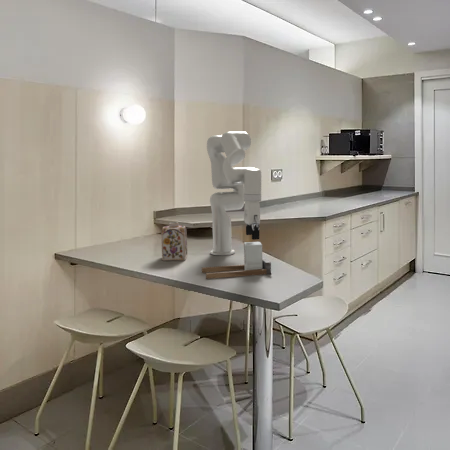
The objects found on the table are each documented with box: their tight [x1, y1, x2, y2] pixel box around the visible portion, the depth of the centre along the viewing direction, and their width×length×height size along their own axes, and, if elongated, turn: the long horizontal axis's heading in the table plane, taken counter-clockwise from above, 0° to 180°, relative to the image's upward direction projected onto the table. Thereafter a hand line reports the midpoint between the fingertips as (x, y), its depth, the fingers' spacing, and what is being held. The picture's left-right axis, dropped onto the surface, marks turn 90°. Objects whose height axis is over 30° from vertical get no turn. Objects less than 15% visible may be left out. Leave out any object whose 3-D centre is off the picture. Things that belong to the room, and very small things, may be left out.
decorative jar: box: [160, 221, 188, 262], centre depth 247 cm, size 12×12×18 cm
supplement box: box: [243, 241, 263, 270], centre depth 217 cm, size 7×7×13 cm
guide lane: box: [201, 256, 272, 279], centre depth 216 cm, size 12×28×5 cm, turn 102°
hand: (252, 236), depth 217 cm, fingers open, 9 cm apart
